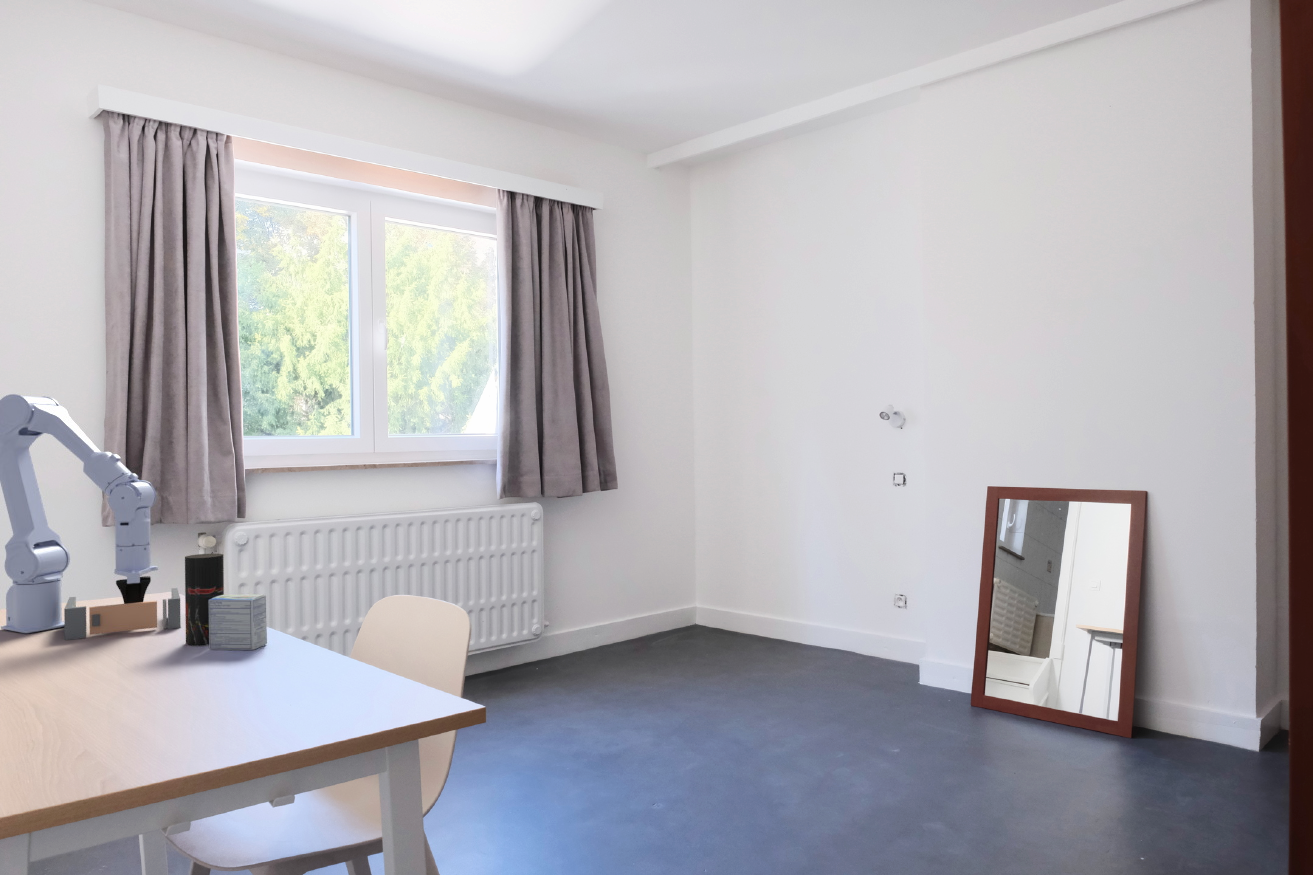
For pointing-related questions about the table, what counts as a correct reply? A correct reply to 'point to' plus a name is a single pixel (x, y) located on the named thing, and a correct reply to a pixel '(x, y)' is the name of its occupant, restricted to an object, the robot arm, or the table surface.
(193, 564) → the deodorant
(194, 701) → the table surface
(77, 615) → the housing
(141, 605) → the door
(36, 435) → the robot arm
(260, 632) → the medicine box
